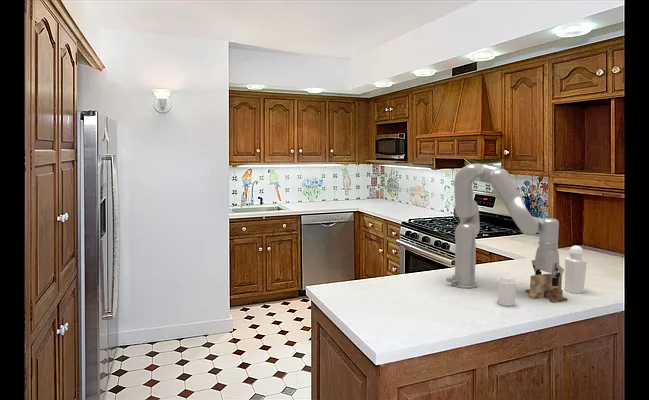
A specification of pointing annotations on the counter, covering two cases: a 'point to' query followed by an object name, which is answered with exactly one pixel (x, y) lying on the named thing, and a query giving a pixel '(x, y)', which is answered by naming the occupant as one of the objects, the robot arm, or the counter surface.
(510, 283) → the white cup
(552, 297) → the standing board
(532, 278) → the slotted board
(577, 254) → the white tall bottle shape
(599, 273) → the counter surface
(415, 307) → the counter surface
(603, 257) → the counter surface
